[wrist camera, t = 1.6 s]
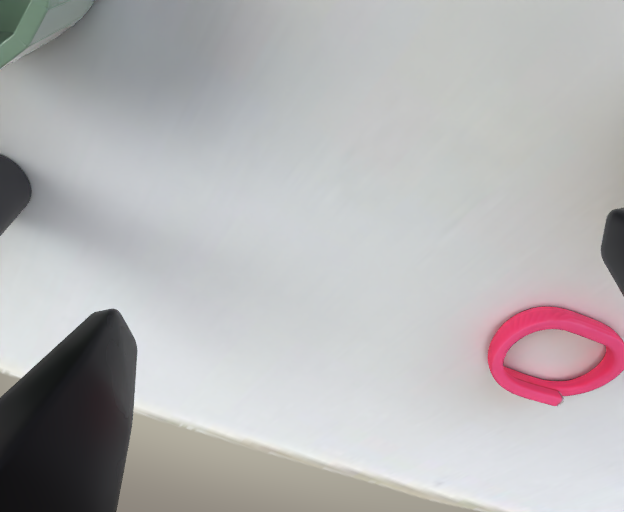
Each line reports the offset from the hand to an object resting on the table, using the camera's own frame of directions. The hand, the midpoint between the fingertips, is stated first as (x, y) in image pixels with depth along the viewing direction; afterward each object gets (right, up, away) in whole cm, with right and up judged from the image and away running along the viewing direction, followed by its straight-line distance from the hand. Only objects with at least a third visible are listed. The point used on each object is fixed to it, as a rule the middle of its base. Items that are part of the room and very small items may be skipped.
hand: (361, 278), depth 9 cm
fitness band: (+13, -5, +20) cm, 24 cm away
